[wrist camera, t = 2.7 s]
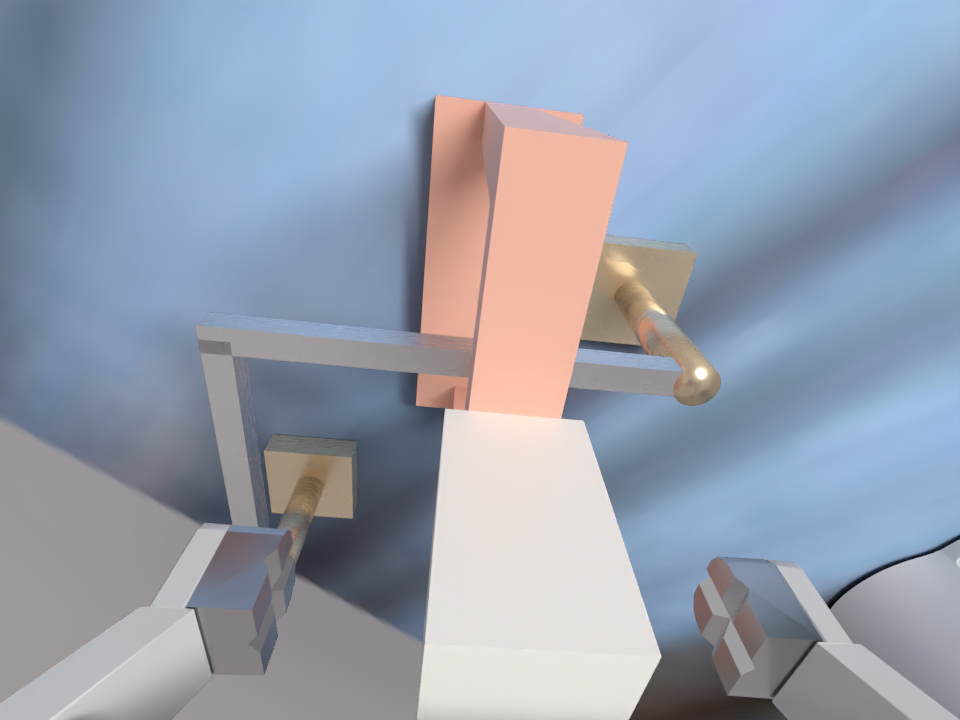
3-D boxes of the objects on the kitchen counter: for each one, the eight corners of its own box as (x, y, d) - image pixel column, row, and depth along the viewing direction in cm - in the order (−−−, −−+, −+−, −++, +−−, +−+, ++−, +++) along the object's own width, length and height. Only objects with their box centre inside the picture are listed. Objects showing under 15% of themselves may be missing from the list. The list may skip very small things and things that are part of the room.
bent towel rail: (685, 244, 24) (797, 327, 16) (595, 518, 33) (636, 662, 25) (245, 193, 22) (112, 256, 14) (280, 495, 32) (211, 640, 23)
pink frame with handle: (576, 113, 21) (1077, 243, 4) (521, 400, 28) (599, 902, 11) (438, 95, 21) (247, 142, 3) (418, 390, 28) (328, 897, 10)
